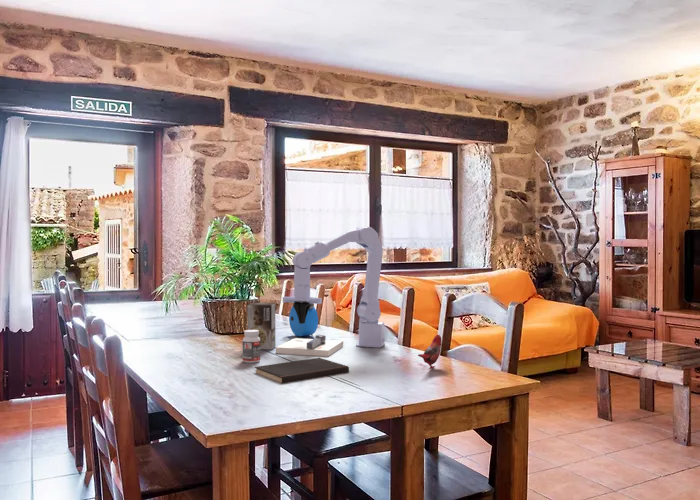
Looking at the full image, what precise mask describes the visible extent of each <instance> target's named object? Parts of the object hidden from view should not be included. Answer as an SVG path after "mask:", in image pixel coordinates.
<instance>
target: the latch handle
mask: <svg viewBox="0 0 700 500" xmlns="http://www.w3.org/2000/svg"><path fill="white" fill-rule="evenodd" d="M312 339H313V340H311V341H309V342H307V349H313V348H315V347H317V346H318V345H320V344H322V343H325V340H327V339H326V335H323V334H318V335H315V338H312Z"/></svg>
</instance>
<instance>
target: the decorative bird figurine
mask: <svg viewBox="0 0 700 500" xmlns="http://www.w3.org/2000/svg"><path fill="white" fill-rule="evenodd" d="M441 347H442V337H441V335H440V334H436V335H435V336H434V337H433V339H432V342H431V343H430V344H429V346H427V348H425V351H424V352H423V353H421V354H417V356H418V357H420V358H422V359H423V361H424V363H425V364H427V365H428V366H429V368H428V370H434V369H435V367H436V365H434V364H435V363H437V361H438V360H439V358H440V353H441Z"/></svg>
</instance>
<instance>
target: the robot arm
mask: <svg viewBox="0 0 700 500" xmlns="http://www.w3.org/2000/svg"><path fill="white" fill-rule="evenodd" d="M348 243H357V244H358V245H359V246H362V248H364V250H365V251H366V252H367V253H368V254H367V255H368V256H367V262H366V263H367V264H366V269H365V270H366V271H365V281H364V287H363V295H362V296H361V298H360V302H359V304H358V306H357V309H356V313H357V315H358V317H359V320H358V343H356V344H355V347H365V348H382V347H383V346H384V345H385V344H386V343H385V338H386V337H385V333H386V332H385V331H386V330H385V323H384V321H382V322H380V321H379V319H380V318H381V315H382V314H381V313H382V312H381V309H380V301H379V286H380V279H381V278H380V277H381V268H382V263H383V262H382V261H383V254H384V249H383V246H382V243H381V240H380V238H379V233H378V232H377V230H375V229H374V228H373V227H371V226H366V227H363V226H359V227H356V228H355V229H351V230H348V231H346V232H345V233H342V234H341V235H339V236H337V237H334V239H331V240H329V241H327V242H324V241H316V242H314V245H312V246H310V247H308V248H307V247H305V248H302V249H303V251H298V252H296V253H295V254H294V256H293V257H292V260H291V262H292V264H293V265H294V273H293V276H294V277H293V289H294V290H293V291H294V292H293V294H294V295H293V296H282V303H292V307H294V309H295V311H296V313H297V316H298V319H299V323H300V324H303V323H305V320H306V316H307V313H308V310H309V308H310V306H311V304H310V303H313V304H314V305H315V304H317V305H320V304H321V305H322V303H323V298H322V297H311V266H312V265H313V264H315V263H317V262H319V261H321V260H323V259H325V258H327V257H329V255H330V252H331V251H333V250H335V249H337V248H340V247H342V246H344V245H346V244H348ZM304 301H307V302H304ZM293 303H294V304H293Z"/></svg>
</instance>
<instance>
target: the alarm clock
mask: <svg viewBox="0 0 700 500" xmlns="http://www.w3.org/2000/svg"><path fill="white" fill-rule="evenodd" d="M304 302H307V301H304ZM293 304H294V303H292V305H293ZM310 304H311V306H310V308H309V310H308V313H307V316H306V320H305V323H303V324H300V323H299V319H298V316H297V313H296V311H295V309H294V307H293V306H292V307H291V309H290V311H289V316H288V323H289V327H290V330H291V332H292V333H293V334H294V335H295V336H296V337H307V336H311V337H312V338H313V337H314V334H315V333H316V332H317V329H318V325H319V315H318V311H317V309H316V307H315V304H313V303H310Z"/></svg>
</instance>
